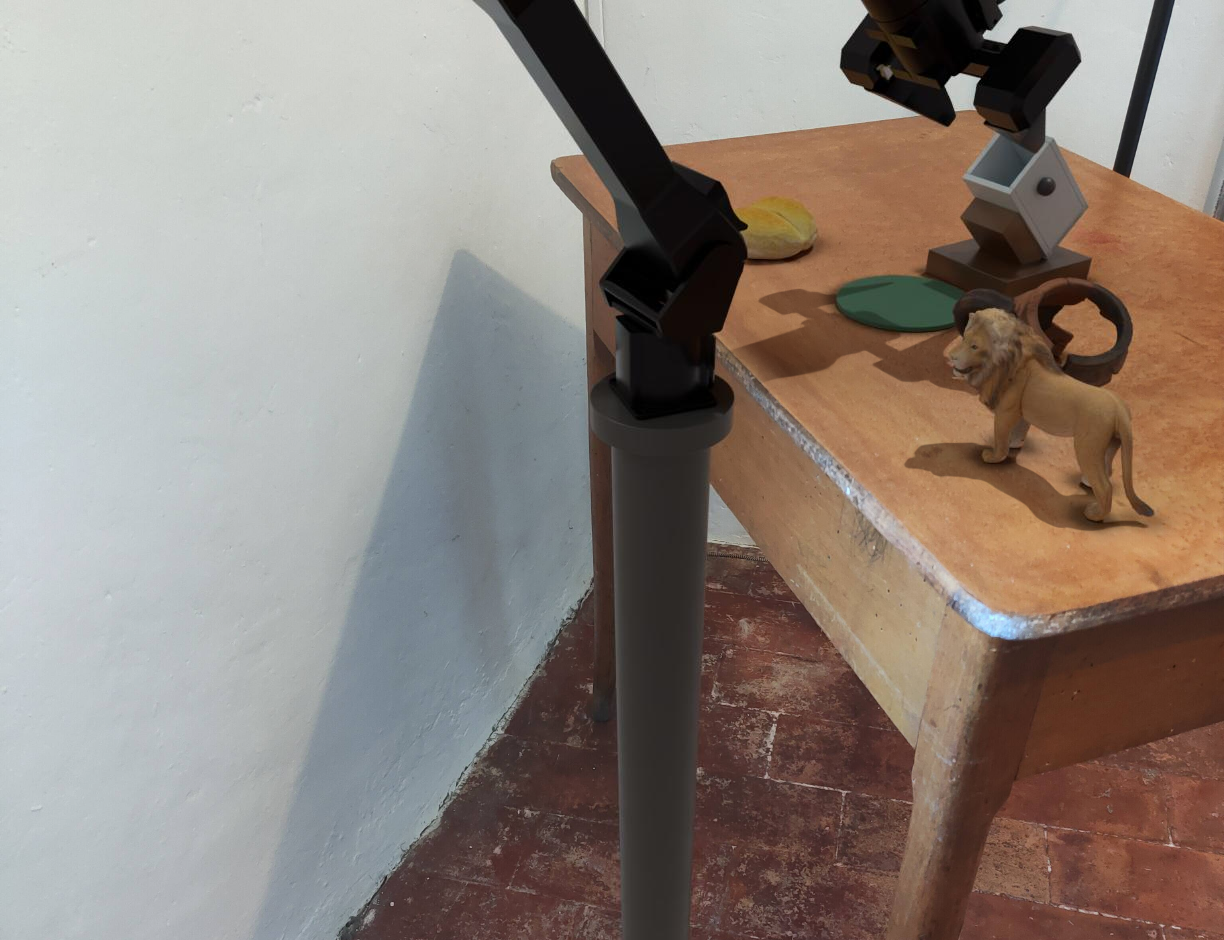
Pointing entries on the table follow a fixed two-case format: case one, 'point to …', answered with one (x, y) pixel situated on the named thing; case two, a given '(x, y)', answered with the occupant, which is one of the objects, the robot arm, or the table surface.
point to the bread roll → (777, 228)
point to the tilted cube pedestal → (1001, 255)
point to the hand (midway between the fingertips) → (993, 134)
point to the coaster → (900, 302)
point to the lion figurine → (1045, 403)
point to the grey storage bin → (1029, 188)
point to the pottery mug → (1039, 315)
